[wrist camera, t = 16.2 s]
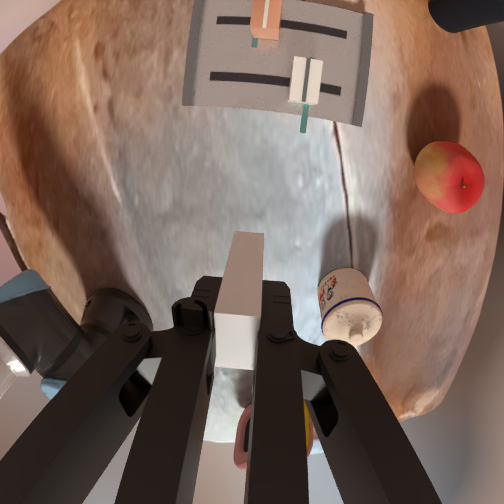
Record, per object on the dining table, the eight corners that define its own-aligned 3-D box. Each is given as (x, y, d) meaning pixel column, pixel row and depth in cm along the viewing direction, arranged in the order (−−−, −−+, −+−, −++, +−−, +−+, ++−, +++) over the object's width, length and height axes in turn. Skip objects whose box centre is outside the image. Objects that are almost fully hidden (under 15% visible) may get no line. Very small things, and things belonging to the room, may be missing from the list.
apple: (443, 126, 31) (483, 136, 22) (460, 183, 35) (497, 205, 26) (393, 149, 34) (426, 164, 25) (414, 207, 38) (445, 235, 29)
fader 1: (253, 37, 27) (249, 26, 22) (257, 5, 25) (254, -11, 20) (278, 40, 27) (278, 28, 22) (282, 7, 24) (282, -8, 20)
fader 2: (287, 101, 31) (289, 99, 26) (291, 63, 28) (294, 55, 24) (312, 105, 31) (318, 104, 26) (316, 67, 28) (323, 60, 24)
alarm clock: (274, 379, 58) (270, 458, 41) (314, 392, 60) (318, 465, 43) (237, 411, 66) (228, 476, 49) (273, 422, 68) (269, 484, 51)
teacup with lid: (322, 262, 43) (334, 310, 33) (375, 268, 43) (398, 315, 33) (306, 320, 49) (311, 371, 39) (354, 324, 49) (367, 373, 39)
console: (188, 121, 35) (180, 122, 32) (204, -10, 25) (197, -19, 22) (351, 140, 34) (358, 143, 31) (366, 8, 25) (373, 1, 22)
